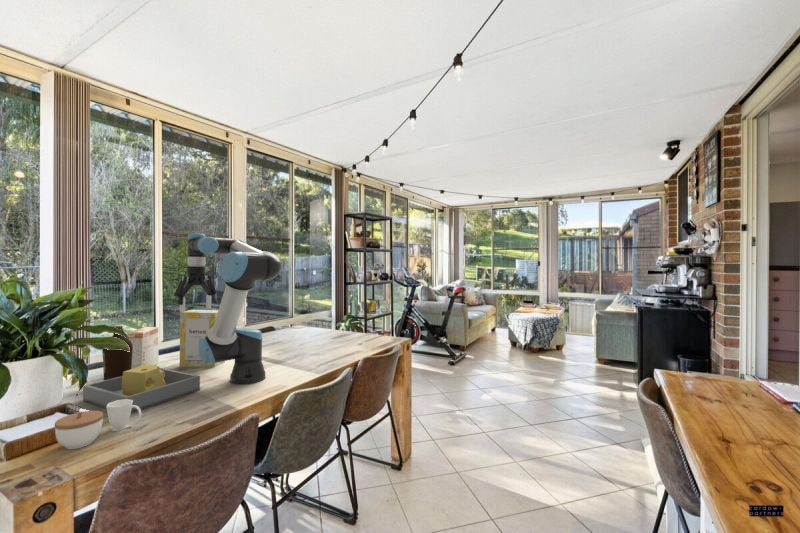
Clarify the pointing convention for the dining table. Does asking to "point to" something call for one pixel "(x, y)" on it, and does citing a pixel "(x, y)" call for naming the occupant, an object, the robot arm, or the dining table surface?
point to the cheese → (142, 379)
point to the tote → (112, 392)
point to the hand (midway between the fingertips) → (196, 310)
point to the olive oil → (117, 359)
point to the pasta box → (195, 336)
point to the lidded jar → (78, 429)
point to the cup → (121, 413)
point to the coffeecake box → (144, 346)
